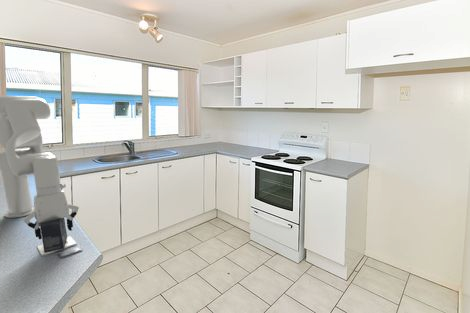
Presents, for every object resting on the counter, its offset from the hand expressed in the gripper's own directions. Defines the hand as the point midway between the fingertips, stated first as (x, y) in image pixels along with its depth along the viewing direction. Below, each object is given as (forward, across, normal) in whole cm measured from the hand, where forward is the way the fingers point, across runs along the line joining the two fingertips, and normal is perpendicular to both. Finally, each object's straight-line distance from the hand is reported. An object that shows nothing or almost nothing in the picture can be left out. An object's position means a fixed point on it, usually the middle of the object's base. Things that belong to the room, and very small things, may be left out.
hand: (55, 233), depth 103 cm
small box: (+5, 0, 0) cm, 5 cm away
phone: (+6, -2, +9) cm, 11 cm away
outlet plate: (+5, 0, 0) cm, 5 cm away
